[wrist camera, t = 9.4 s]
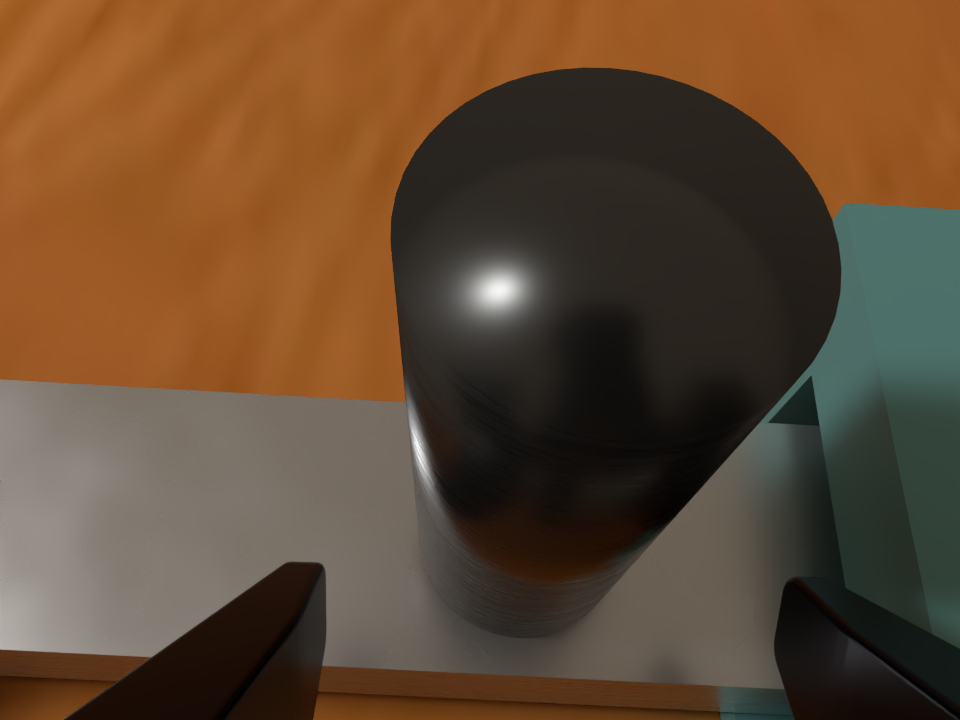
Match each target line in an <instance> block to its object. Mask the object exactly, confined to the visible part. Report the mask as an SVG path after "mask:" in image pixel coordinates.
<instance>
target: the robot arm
mask: <svg viewBox="0 0 960 720" xmlns="http://www.w3.org/2000/svg"><path fill="white" fill-rule="evenodd" d="M326 628H327V626H326V573H325V568H324V566H323V565H322V564H321V563H318V562H295V561H290V562H286V563H284V564H283V565H281V566H280V567H278V568H277V569H276V570H274V571H273V572H271V573H270V574H268V575H267V576H266V577H264V578H263V579H261V580H260V581H259V582H257V583H256V584H254V585H253V586H251V587H250V588H249V589H247V590H246V591H244V592H243V593H242V594H240V595H239V596H237V597H236V598H234V599H233V600H232V601H230V602H229V603H227V604H226V605H225V606H223V607H222V608H220V609H219V610H217V611H216V612H215V613H213V614H212V615H210V616H209V617H208V618H206V619H205V620H203V621H202V622H201V623H199V624H198V625H196V626H195V627H193V628H192V629H191V630H189V631H188V632H186V633H185V634H184V635H182V636H181V637H179V638H178V639H176V640H175V641H174V642H172V643H171V644H169V645H168V646H167V647H165V648H164V649H162V650H161V651H159V652H158V653H157V654H155V655H154V656H152V657H151V658H150V659H148V660H147V661H145V662H144V663H143V664H141V665H140V666H138V667H137V668H135V669H134V670H133V671H131V672H130V673H128V674H127V675H126V676H124V677H123V678H121V679H120V680H118V681H117V682H116V683H114V684H113V685H111V686H110V687H109V688H107V689H106V690H104V691H103V692H101V693H100V694H99V695H97V696H96V697H94V698H93V699H92V700H90V701H89V702H87V703H86V704H84V705H83V706H82V707H80V708H79V709H77V710H76V711H75V712H73V713H72V714H70V715H69V716H68V717H66V718H65V719H63V720H313V717H314V711H315V705H316V699H317V693H318V687H319V681H320V675H321V669H322V663H323V658H324V652H325V644H326ZM774 655H775V660H776V664H777V667H778V670H779V673H780V676H781V679H782V683H783V686H784V689H785V692H786V695H787V698H788V701H789V704H790V707H791V710H792V714H793V717H794V720H960V648H958V647H956V646H954V645H952V644H950V643H948V642H946V641H945V640H943V639H941V638H939V637H937V636H935V635H933V634H931V633H930V632H928V631H926V630H924V629H922V628H920V627H918V626H916V625H915V624H913V623H911V622H909V621H907V620H905V619H903V618H901V617H899V616H898V615H896V614H894V613H892V612H890V611H888V610H886V609H884V608H883V607H881V606H879V605H877V604H875V603H873V602H871V601H869V600H868V599H866V598H864V597H862V596H860V595H858V594H856V593H854V592H853V591H851V590H849V589H847V588H845V587H843V586H841V585H839V584H838V583H836V582H834V581H832V580H830V579H828V578H824V577H806V576H794V577H791V578H789V579H788V580H787V581H786V583H785V585H784V588H783V592H782V598H781V603H780V609H779V615H778V620H777V626H776V631H775V637H774Z"/></svg>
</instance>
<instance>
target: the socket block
mask: <svg viewBox="0 0 960 720" xmlns="http://www.w3.org/2000/svg"><path fill="white" fill-rule="evenodd" d="M833 225H834V228H835V232H836V236H837V240H838V243H839V250H840V259H841V268H842V270H841V293H840V298H839V302H838V307H837V312H836V317H835V319H834V322H833V324H832V327H831V329H830V332H829V334H828V337H827V340H826V342H825V343H824V345H823V346H822V348H821V350H820V351H819V353H818V355H817V356H816V358H815V360H814V361H813V363H812V364H811V365H810V366H809V367H808V369H807V370H806V371H805V372H804V373H803V374H802V376H801V377H800V378H799V379H798V380H797V381H796V383H795V384H794V385H793V386H792V387H791V388H790V389H789V390H788V391H787V393H786V394H785V395H784V396H783V397H782V398H781V399H780V400H779V402H778V403H777V404H776V405H775V406H774V407H773V408H772V409H771V411H770V412H769V413H768V414H767V415H766V416H765V417H764V418H763V419H762V421H761V422H760V423H778V424H795V425H813V426H820V431H821V437H822V444H823V450H824V456H825V462H826V469H827V475H828V481H829V487H830V494H831V500H832V506H833V512H834V519H835V525H836V531H837V537H838V544H839V550H840V556H841V562H842V569H843V575H844V581H845V587H846V588H847V589H849V590H851V591H853V592H854V593H856V594H858V595H860V596H862V597H864V598H866V599H868V600H869V601H871V602H873V603H875V604H877V605H879V606H881V607H883V608H884V609H886V610H888V611H890V612H892V613H894V614H896V615H898V616H899V617H901V618H903V619H905V620H907V621H909V622H911V623H913V624H915V625H916V626H918V627H920V628H922V629H924V630H926V631H928V632H930V633H931V634H933V635H935V636H937V637H939V638H941V639H943V640H945V641H946V642H948V643H950V644H952V645H954V646H956V647H958V648H960V210H952V209H936V208H920V207H903V206H887V205H871V204H854V203H845V204H844V205H843V207H842V208H841V209H840V211H839V212H838V214H837V215H836V217H835V218H834V219H833ZM720 716H721V720H794V717H793V715H778V714H759V713H739V712H720Z"/></svg>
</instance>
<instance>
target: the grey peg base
mask: <svg viewBox="0 0 960 720" xmlns="http://www.w3.org/2000/svg"><path fill="white" fill-rule="evenodd" d="M391 251H392V261H393V272H394V282H395V292H396V303H397V313H398V324H399V334H400V345H401V355H402V366H403V376H404V387H405V397H406V402H388V401H370V400H353V399H335V398H317V397H299V396H282V395H264V394H246V393H229V392H211V391H193V390H176V389H158V388H140V387H122V386H105V385H87V384H69V383H52V382H34V381H16V380H0V675H2V676H22V677H42V678H62V679H82V680H102V681H118V680H120V679H121V678H123V677H124V676H126V675H127V674H128V673H130V672H131V671H133V670H134V669H135V668H137V667H138V666H140V665H141V664H143V663H144V662H145V661H147V660H148V659H150V658H151V657H152V656H154V655H155V654H157V653H158V652H159V651H161V650H162V649H164V648H165V647H167V646H168V645H169V644H171V643H172V642H174V641H175V640H176V639H178V638H179V637H181V636H182V635H184V634H185V633H186V632H188V631H189V630H191V629H192V628H193V627H195V626H196V625H198V624H199V623H201V622H202V621H203V620H205V619H206V618H208V617H209V616H210V615H212V614H213V613H215V612H216V611H217V610H219V609H220V608H222V607H223V606H225V605H226V604H227V603H229V602H230V601H232V600H233V599H234V598H236V597H237V596H239V595H240V594H242V593H243V592H244V591H246V590H247V589H249V588H250V587H251V586H253V585H254V584H256V583H257V582H259V581H260V580H261V579H263V578H264V577H266V576H267V575H268V574H270V573H271V572H273V571H274V570H276V569H277V568H278V567H280V566H281V565H283V564H284V563H286V562H290V561H295V562H318V563H321V564H322V565H323V566H324V568H325V573H326V626H327V628H326V644H325V652H324V658H323V663H322V669H321V675H320V681H319V687H318V691H321V692H340V693H360V694H380V695H400V696H420V697H440V698H460V699H480V700H500V701H520V702H540V703H559V704H579V705H599V706H619V707H639V708H659V709H679V710H699V711H719V712H739V713H759V714H778V715H793V714H792V710H791V707H790V704H789V701H788V698H787V695H786V692H785V689H784V686H783V683H782V679H781V676H780V673H779V670H778V667H777V664H776V660H775V655H774V637H775V631H776V626H777V620H778V615H779V609H780V603H781V598H782V592H783V588H784V585H785V583H786V581H787V580H788V579H789V578H791V577H794V576H806V577H824V578H828V579H830V580H832V581H834V582H836V583H838V584H839V585H841V586H843V587H845V581H844V575H843V569H842V562H841V556H840V550H839V544H838V537H837V531H836V525H835V519H834V512H833V506H832V500H831V494H830V487H829V481H828V475H827V469H826V462H825V456H824V450H823V444H822V437H821V431H820V426H813V425H795V424H778V423H760V422H761V421H762V419H763V418H764V417H765V416H766V415H767V414H768V413H769V412H770V411H771V409H772V408H773V407H774V406H775V405H776V404H777V403H778V402H779V400H780V399H781V398H782V397H783V396H784V395H785V394H786V393H787V391H788V390H789V389H790V388H791V387H792V386H793V385H794V384H795V383H796V381H797V380H798V379H799V378H800V377H801V376H802V374H803V373H804V372H805V371H806V370H807V369H808V367H809V366H810V365H811V364H812V363H813V361H814V360H815V358H816V356H817V355H818V353H819V351H820V350H821V348H822V346H823V345H824V343H825V342H826V340H827V337H828V334H829V332H830V329H831V327H832V324H833V322H834V319H835V317H836V312H837V307H838V302H839V298H840V293H841V270H842V268H841V259H840V250H839V243H838V240H837V236H836V232H835V228H834V225H833V221H832V219H831V216H830V214H829V212H828V209H827V207H826V205H825V202H824V200H823V198H822V196H821V194H820V193H819V191H818V189H817V187H816V186H815V184H814V182H813V181H812V179H811V177H810V176H809V175H808V173H807V172H806V171H805V169H804V168H803V167H802V165H801V164H800V163H799V162H798V160H797V159H796V158H795V156H794V155H793V154H792V153H791V152H790V151H789V150H788V149H787V148H786V147H785V146H784V145H783V144H782V143H781V142H780V141H779V140H778V139H777V138H776V137H775V136H774V135H772V134H771V133H770V132H769V131H768V130H766V129H765V128H764V127H763V126H761V125H760V124H759V123H758V122H757V121H755V120H754V119H752V118H751V117H749V116H748V115H746V114H745V113H743V112H742V111H740V110H739V109H737V108H736V107H734V106H732V105H730V104H728V103H727V102H725V101H723V100H721V99H719V98H717V97H715V96H713V95H711V94H709V93H707V92H704V91H702V90H699V89H697V88H695V87H692V86H690V85H687V84H684V83H681V82H678V81H675V80H671V79H668V78H665V77H662V76H657V75H652V74H647V73H642V72H638V71H630V70H621V69H612V68H575V69H562V70H554V71H549V72H544V73H538V74H533V75H529V76H526V77H523V78H519V79H516V80H512V81H509V82H507V83H504V84H502V85H500V86H497V87H495V88H492V89H490V90H488V91H486V92H484V93H482V94H480V95H479V96H477V97H475V98H473V99H471V100H470V101H468V102H466V103H465V104H463V105H462V106H461V107H459V108H458V109H457V110H455V111H454V112H453V113H451V114H450V115H449V116H447V117H446V118H445V119H444V120H443V121H442V122H441V123H440V124H439V125H438V126H437V127H436V128H435V129H434V130H433V131H432V132H431V133H430V134H429V135H428V136H427V138H426V139H425V140H424V141H423V143H422V144H421V145H420V147H419V148H418V149H417V150H416V152H415V154H414V155H413V157H412V159H411V161H410V162H409V164H408V166H407V168H406V170H405V171H404V174H403V177H402V179H401V182H400V185H399V187H398V190H397V193H396V197H395V202H394V207H393V212H392V217H391ZM845 588H846V587H845Z"/></svg>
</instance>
